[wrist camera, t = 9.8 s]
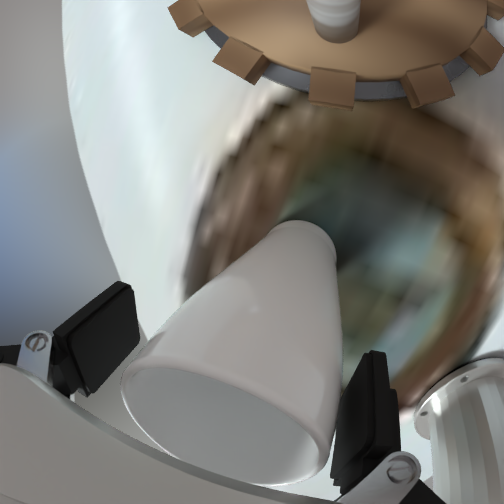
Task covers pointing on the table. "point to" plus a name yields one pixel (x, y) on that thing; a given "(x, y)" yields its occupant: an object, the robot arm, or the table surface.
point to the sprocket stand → (362, 89)
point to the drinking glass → (249, 365)
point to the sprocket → (350, 41)
